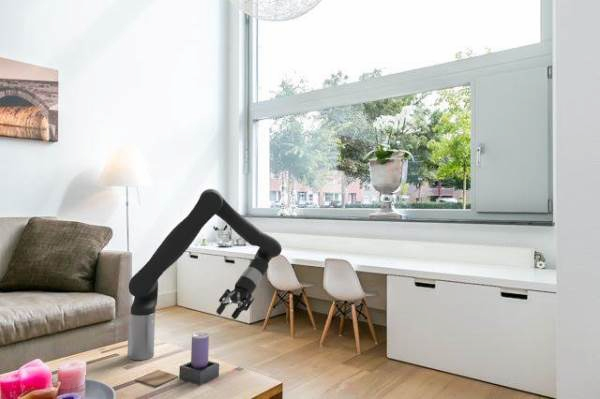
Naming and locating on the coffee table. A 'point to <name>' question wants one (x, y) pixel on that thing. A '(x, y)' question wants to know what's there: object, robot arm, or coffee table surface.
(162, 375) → the walnut coaster
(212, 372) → the square socket
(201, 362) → the beverage can
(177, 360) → the coffee table surface
